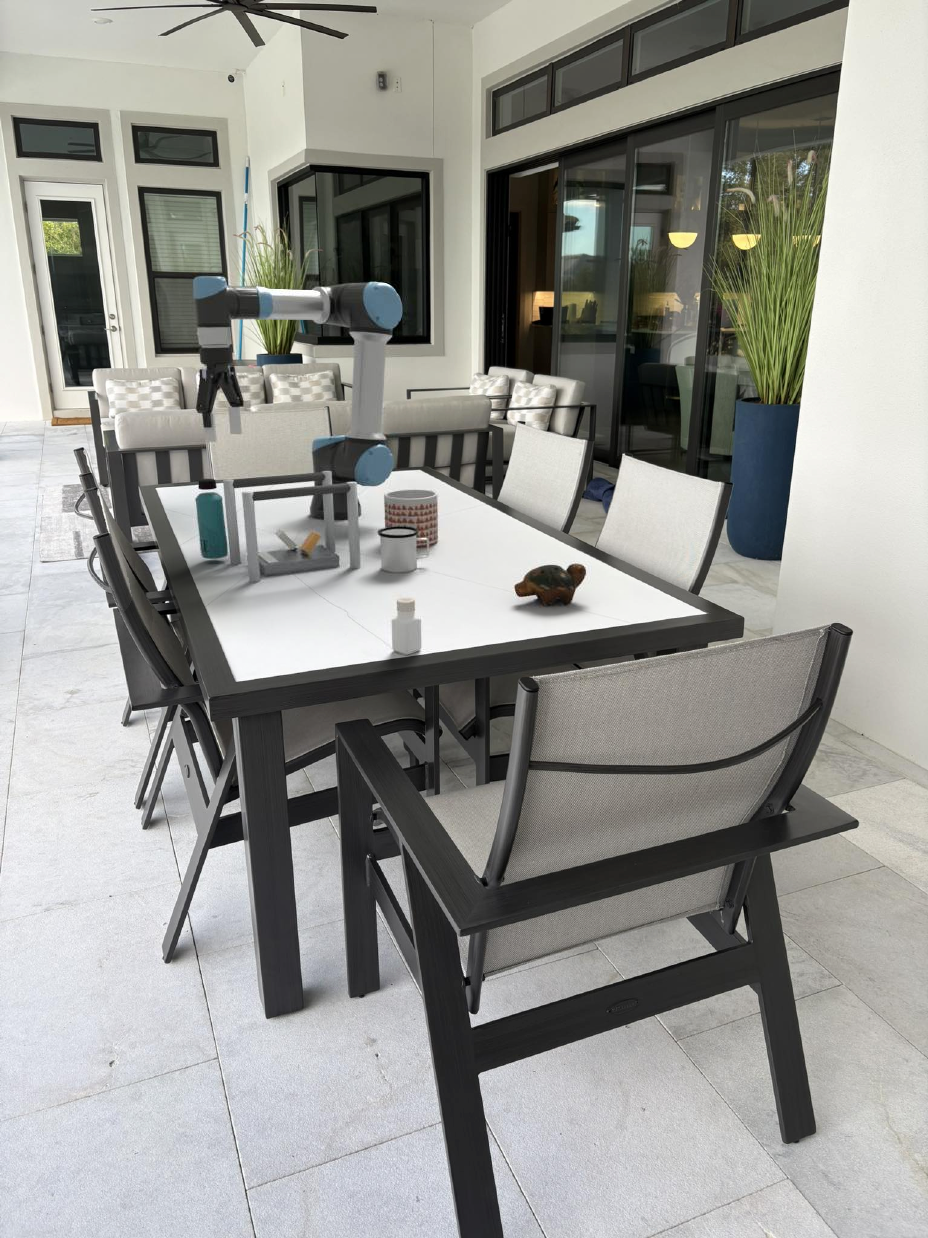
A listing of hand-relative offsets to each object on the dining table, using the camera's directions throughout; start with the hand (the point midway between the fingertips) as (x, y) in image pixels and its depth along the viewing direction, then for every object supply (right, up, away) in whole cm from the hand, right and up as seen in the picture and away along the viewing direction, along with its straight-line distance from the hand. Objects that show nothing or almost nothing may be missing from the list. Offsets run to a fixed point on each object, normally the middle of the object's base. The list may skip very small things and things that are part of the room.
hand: (223, 437), depth 217 cm
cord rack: (+18, -31, -5) cm, 37 cm away
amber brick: (+20, -29, -5) cm, 35 cm away
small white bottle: (+48, -50, -59) cm, 91 cm away
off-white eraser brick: (+17, -27, 0) cm, 32 cm away
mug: (+44, -32, -7) cm, 55 cm away
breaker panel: (+18, -31, -5) cm, 37 cm away
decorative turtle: (+76, -41, -32) cm, 92 cm away
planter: (+45, -24, +17) cm, 54 cm away
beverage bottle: (-2, -30, -1) cm, 30 cm away
